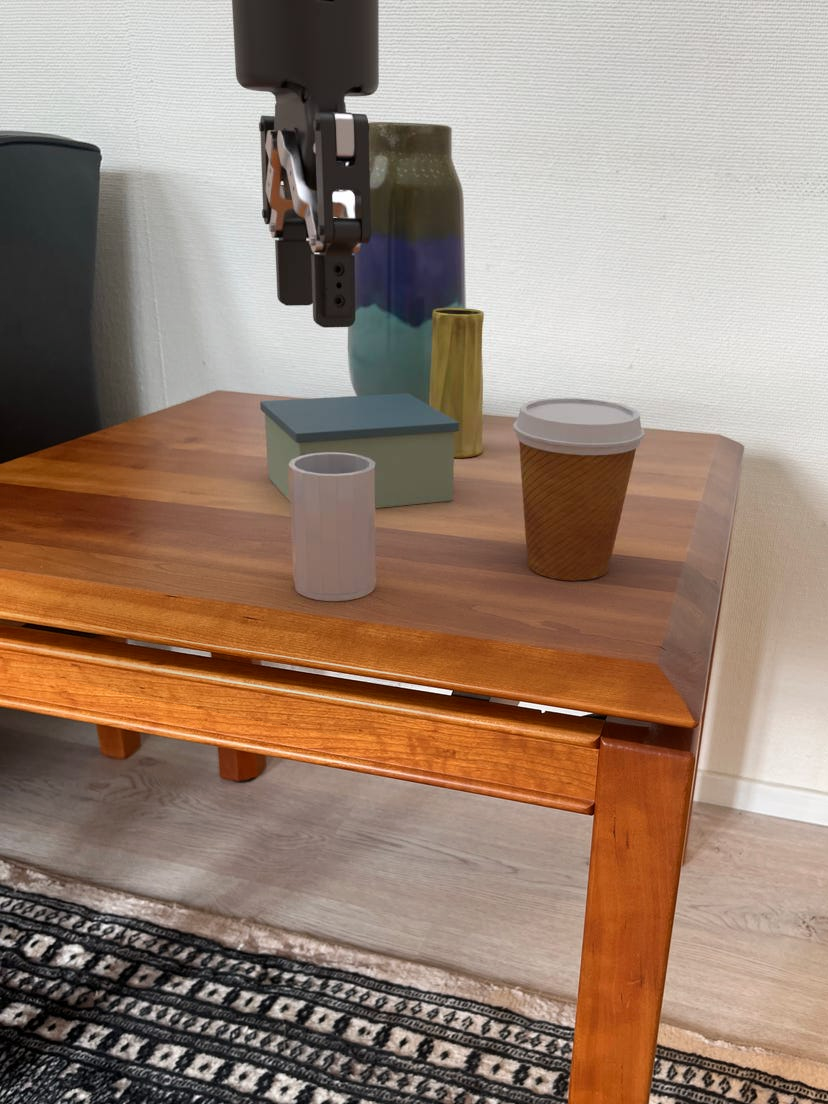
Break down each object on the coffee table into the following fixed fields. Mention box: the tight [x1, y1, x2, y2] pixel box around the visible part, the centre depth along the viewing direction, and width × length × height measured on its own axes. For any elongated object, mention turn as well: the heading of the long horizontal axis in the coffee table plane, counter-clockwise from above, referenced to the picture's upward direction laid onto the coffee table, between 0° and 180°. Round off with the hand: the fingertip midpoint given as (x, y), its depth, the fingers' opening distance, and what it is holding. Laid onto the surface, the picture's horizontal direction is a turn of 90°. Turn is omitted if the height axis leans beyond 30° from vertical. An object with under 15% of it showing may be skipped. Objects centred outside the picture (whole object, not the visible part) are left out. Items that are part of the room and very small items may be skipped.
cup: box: [288, 452, 377, 602], centre depth 71 cm, size 6×6×9 cm
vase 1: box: [347, 121, 467, 405], centre depth 116 cm, size 14×14×31 cm
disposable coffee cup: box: [512, 397, 646, 581], centre depth 76 cm, size 10×10×12 cm
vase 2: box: [429, 307, 485, 459], centre depth 105 cm, size 6×6×14 cm
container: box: [259, 393, 459, 509], centre depth 93 cm, size 15×13×7 cm
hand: (314, 315), depth 59 cm, fingers open, 8 cm apart
